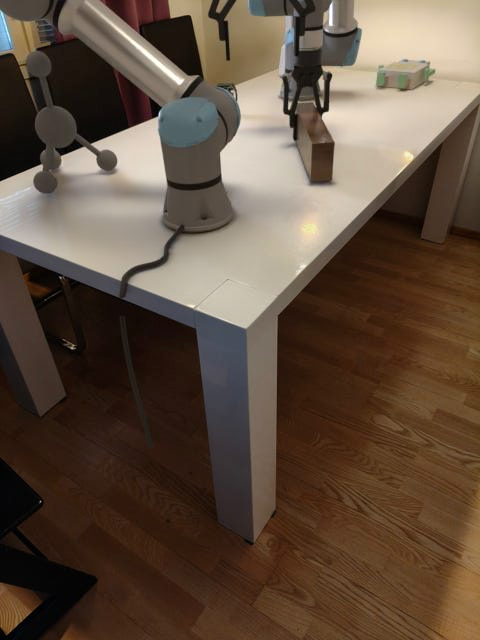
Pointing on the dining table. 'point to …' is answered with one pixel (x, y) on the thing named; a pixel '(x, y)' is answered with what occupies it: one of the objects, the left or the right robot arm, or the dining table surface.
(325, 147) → the bar
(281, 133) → the dining table surface
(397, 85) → the grey box with connectors
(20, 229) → the dining table surface
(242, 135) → the dining table surface
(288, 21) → the electronic device
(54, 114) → the molecular model
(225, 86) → the grenade
